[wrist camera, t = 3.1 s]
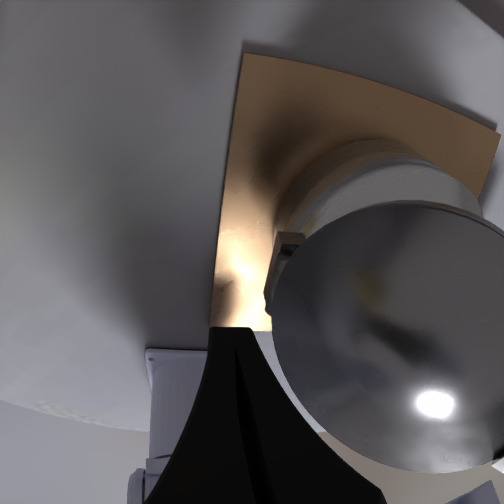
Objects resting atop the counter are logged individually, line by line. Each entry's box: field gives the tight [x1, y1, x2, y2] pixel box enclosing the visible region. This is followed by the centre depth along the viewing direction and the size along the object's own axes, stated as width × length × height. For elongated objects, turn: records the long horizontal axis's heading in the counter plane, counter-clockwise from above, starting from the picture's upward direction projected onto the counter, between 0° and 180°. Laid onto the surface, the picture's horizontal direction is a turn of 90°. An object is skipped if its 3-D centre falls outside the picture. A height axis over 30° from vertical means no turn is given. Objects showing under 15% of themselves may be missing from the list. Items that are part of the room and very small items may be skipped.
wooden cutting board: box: [209, 53, 501, 331], centre depth 18 cm, size 18×20×5 cm
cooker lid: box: [264, 200, 504, 473], centre depth 10 cm, size 17×13×1 cm
